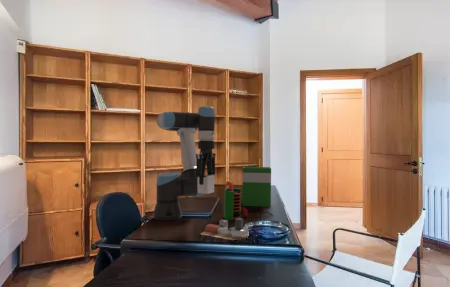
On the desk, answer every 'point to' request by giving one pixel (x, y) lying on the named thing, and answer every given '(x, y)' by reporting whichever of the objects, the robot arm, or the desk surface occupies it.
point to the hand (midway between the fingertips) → (205, 190)
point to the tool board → (218, 235)
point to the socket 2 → (223, 223)
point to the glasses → (250, 213)
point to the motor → (232, 202)
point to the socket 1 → (207, 184)
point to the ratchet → (230, 230)
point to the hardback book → (256, 186)
